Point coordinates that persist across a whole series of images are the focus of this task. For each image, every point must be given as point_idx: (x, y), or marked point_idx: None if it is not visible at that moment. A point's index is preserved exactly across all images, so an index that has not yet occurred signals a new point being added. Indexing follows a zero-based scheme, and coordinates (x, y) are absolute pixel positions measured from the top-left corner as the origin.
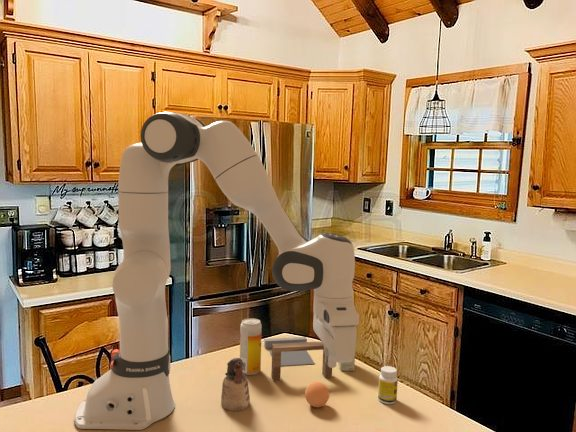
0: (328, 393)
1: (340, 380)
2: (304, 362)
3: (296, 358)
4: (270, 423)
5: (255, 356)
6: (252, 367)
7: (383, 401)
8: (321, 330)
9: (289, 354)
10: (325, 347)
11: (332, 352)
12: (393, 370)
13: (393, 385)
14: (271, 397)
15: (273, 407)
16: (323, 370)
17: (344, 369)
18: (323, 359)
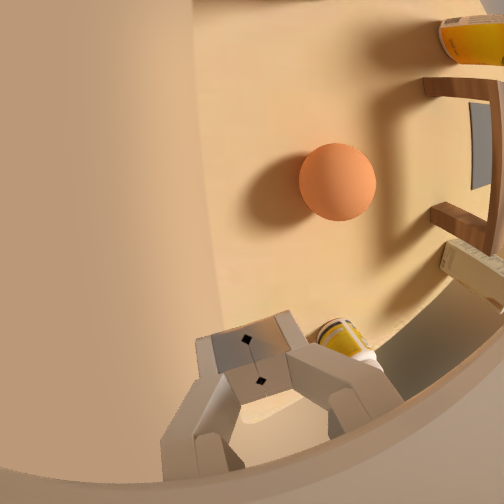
0: (330, 219)
1: (418, 240)
2: (477, 168)
3: (487, 154)
4: (215, 40)
5: (476, 43)
6: (452, 37)
7: (323, 330)
8: (479, 499)
9: None
10: (331, 402)
11: (9, 500)
12: None
13: None
14: (356, 55)
15: (306, 51)
16: (448, 207)
17: (446, 250)
18: (469, 215)
